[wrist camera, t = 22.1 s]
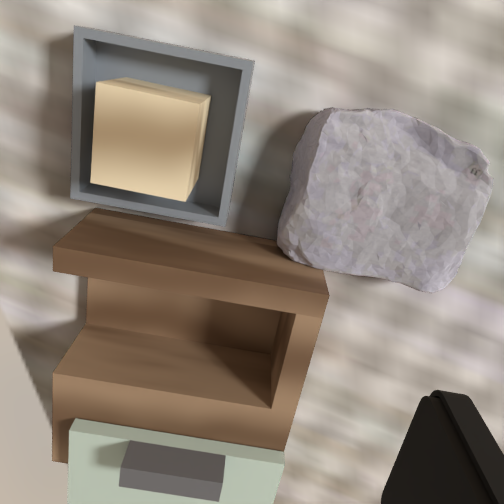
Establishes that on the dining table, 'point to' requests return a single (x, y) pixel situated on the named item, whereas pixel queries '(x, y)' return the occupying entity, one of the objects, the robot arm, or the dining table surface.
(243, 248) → the brown open box
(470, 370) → the dining table surface
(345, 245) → the stone block
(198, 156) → the birch block
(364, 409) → the dining table surface
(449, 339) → the dining table surface
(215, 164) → the gray tray
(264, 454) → the sliding lid
